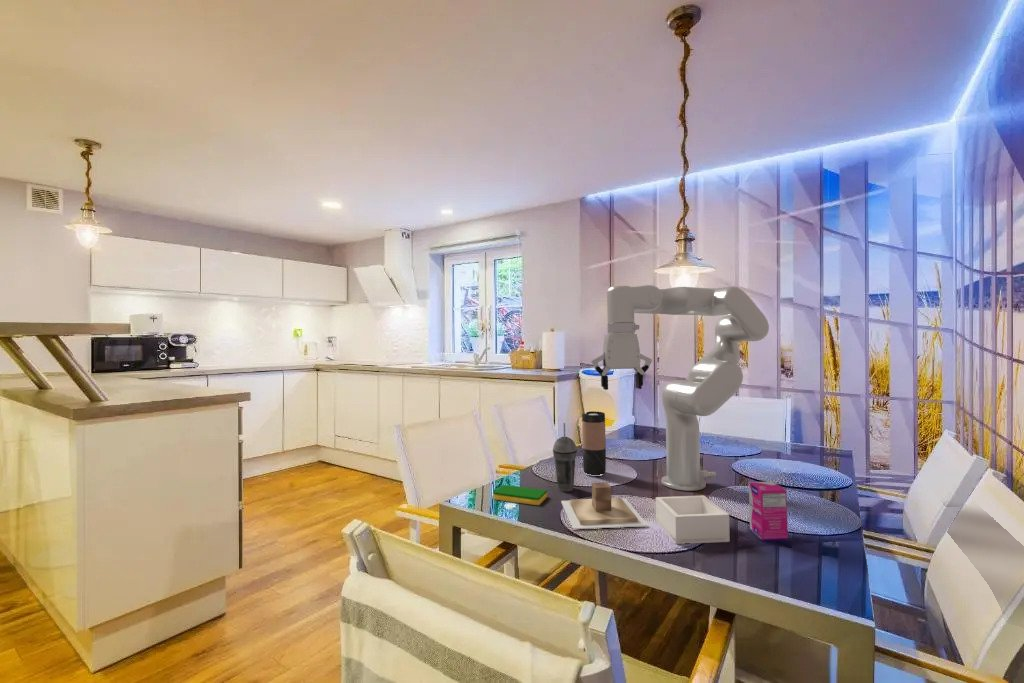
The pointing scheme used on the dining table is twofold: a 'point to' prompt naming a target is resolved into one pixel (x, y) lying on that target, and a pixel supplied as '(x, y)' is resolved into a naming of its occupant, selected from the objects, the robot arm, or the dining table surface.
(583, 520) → the lid
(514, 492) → the dish sponge
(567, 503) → the mat
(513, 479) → the dining table surface
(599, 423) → the travel mug
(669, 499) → the white open box
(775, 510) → the supplement box
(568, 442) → the beverage cup
